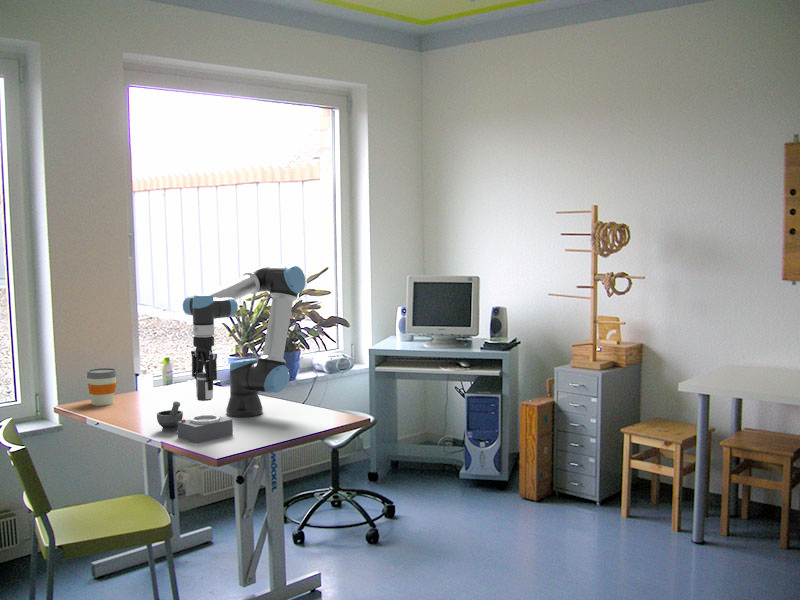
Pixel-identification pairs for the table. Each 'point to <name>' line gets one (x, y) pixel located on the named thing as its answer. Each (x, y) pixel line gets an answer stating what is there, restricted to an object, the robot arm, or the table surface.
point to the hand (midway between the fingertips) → (204, 397)
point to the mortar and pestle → (170, 418)
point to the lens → (201, 386)
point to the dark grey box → (204, 428)
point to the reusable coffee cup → (102, 385)
